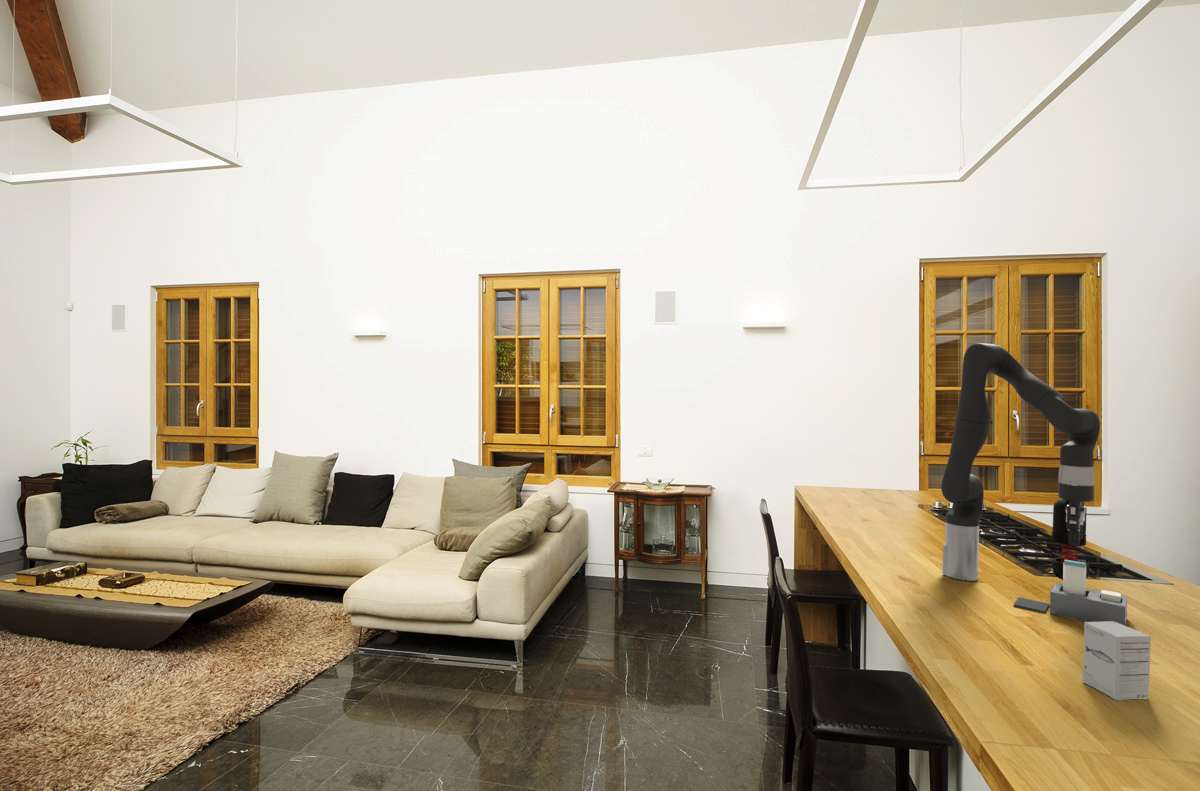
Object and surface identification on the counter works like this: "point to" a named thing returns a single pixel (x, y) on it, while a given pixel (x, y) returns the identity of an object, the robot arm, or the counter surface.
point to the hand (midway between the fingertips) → (1075, 542)
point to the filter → (1064, 537)
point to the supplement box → (1116, 660)
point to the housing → (1087, 606)
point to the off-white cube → (1111, 596)
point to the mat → (1031, 605)
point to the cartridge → (1074, 577)
